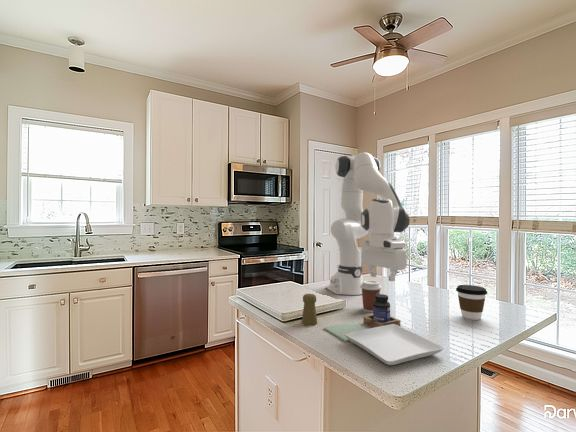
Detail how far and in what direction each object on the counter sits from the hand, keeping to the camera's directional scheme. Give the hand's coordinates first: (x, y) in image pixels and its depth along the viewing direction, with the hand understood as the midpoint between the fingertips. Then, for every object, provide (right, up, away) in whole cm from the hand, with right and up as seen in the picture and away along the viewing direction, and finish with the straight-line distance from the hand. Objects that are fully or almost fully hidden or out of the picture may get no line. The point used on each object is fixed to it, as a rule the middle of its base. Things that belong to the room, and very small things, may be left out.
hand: (382, 278), depth 116 cm
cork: (-27, -18, +3) cm, 32 cm away
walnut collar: (0, -17, 0) cm, 17 cm away
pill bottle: (0, -18, 0) cm, 18 cm away
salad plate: (-3, -18, -20) cm, 27 cm away
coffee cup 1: (+1, -17, +19) cm, 26 cm away
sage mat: (-14, -18, -6) cm, 23 cm away
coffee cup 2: (+38, -18, +9) cm, 43 cm away
